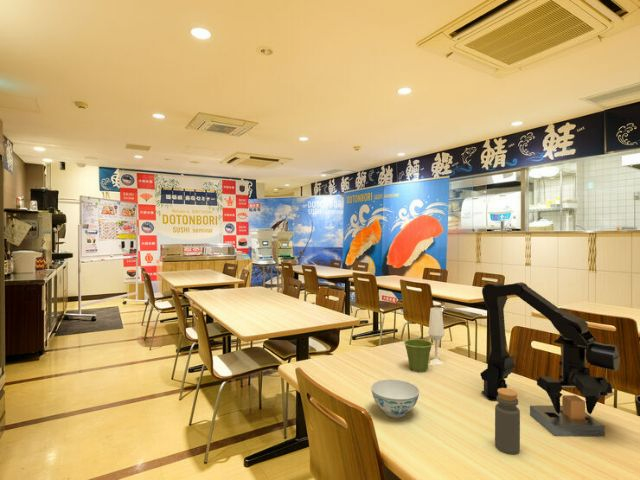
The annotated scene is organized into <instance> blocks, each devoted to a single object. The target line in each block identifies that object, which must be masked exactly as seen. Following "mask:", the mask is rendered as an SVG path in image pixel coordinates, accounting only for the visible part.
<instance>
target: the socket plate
mask: <svg viewBox="0 0 640 480" xmlns="http://www.w3.org/2000/svg"><path fill="white" fill-rule="evenodd" d="M529 416H530V417H532V418H533V419H534V420H535V421H536V422H537V423H539V424H540V425H541V426H542V427H543V428H544V429H546V430H547V432H549V433H550V434H551V436H553V437H605V434H606V433H605V432H606V430H605V427H606V426H605V424H603V423H601V422H600V421H599V420H597V419H596V418H594V417H592V416H591V414H589V413H588V412H587V413H586V412H585V420H570V419H569V418H568V417H566V416H565V415H564V414H562V405H560V414H558V413H557V412H556V411H555V408H554V406H553V405H533V404H532V405H530V404H529Z"/></svg>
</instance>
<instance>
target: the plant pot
mask: <svg viewBox="0 0 640 480" xmlns="http://www.w3.org/2000/svg"><path fill="white" fill-rule="evenodd" d="M403 344H404V346H405V350H406V355H407V361H408V367H409V370H411V369H412V370H411V371H413V370H414V371H413V372H416V371H417V372H420V373H424V372H426V370H427V371H428V368H429V361H430V354H431V350H432V347H433V345H434V343H433V342H432V341H430V340H427V339H421V338H410V339H406V340H404V341H403ZM423 371H424V372H423Z"/></svg>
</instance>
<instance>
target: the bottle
mask: <svg viewBox="0 0 640 480" xmlns="http://www.w3.org/2000/svg"><path fill="white" fill-rule="evenodd" d="M497 391H498V396H497V400H496V401H497V403H496V404H495V406H494V446H495V447H496V448H495V449H497V450H498V451H500V452H501V453H504V454H508V455H516V454H517V455H518V454H519V453H520V450H521V449H520V448H521V413H520V412H521V411H520V409H519V408H518V407H517V406H518V405H519V399H518V392H517V391H516V390H514V389H511V388H508V387H507V388H499V389H498V390H497Z"/></svg>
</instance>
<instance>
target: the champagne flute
mask: <svg viewBox="0 0 640 480" xmlns="http://www.w3.org/2000/svg"><path fill="white" fill-rule="evenodd" d="M443 318H444V317H443V308H441V307H430V312H429V321H428V332H427V333H428V336H429V337H430V338H431V340H432V341H434V358H433V359H431V360H430V359H429V361H430V362H431V363H434V364H442V363H444V362H443V361H442V360H440V359H439V358H438V354H439V353H438V348H439V347H438V344H439V343H438V342H439V341H440V340H441V339H443V337H444V335H445V330H444V329H445V327H444V319H443Z"/></svg>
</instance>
